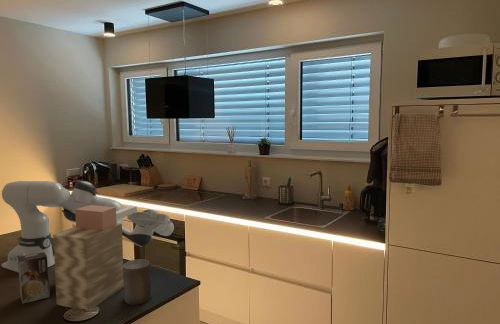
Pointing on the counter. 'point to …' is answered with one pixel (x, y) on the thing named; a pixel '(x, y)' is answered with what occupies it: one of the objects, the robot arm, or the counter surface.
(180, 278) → the counter surface
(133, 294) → the pillar candle
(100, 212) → the handled block
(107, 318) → the counter surface
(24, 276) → the coffee box
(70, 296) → the oak pedestal
